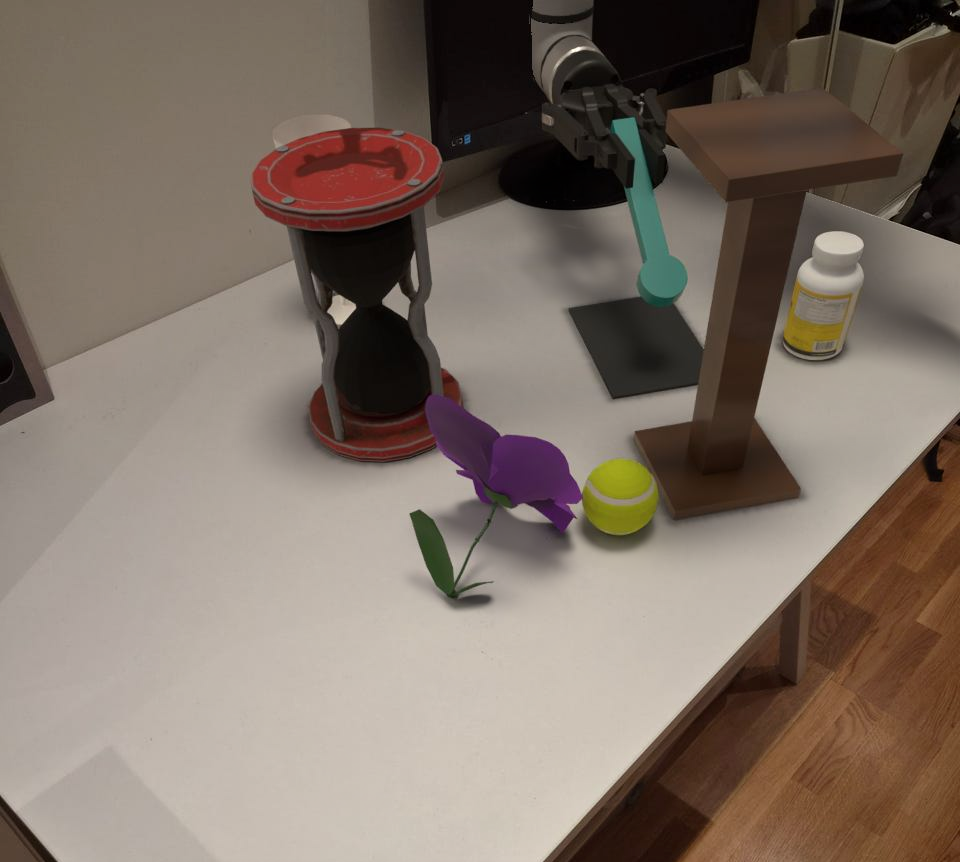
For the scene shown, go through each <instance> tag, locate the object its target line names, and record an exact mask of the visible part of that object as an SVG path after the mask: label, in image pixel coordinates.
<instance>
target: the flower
mask: <svg viewBox="0 0 960 862" xmlns="http://www.w3.org/2000/svg"><path fill="white" fill-rule="evenodd" d="M425 411H426V416H427V420H428V424H429V427H430V431H431V432H432V434H433V435H434V437H435V439H436V447H437V448H438V449H439V451H440V453H442V455H443V456H444V457H446V458H447V459H449V460H450V461H451V462H452V463H454V464H456V465H457V466H458V467H459V468H461V469H455V472H456V475H459V476H461V477H463V478H466V479H469V480H472V483H473V488H474V492H475V495H476V496H477V497H478V499H479V500H480V502H481V503H488V504H493V507H492V509H491V510H490V511H491V512H490V513H489V516H488V518H487V520H486V521H487V522H486V524H485V526H484V527H483V528H482V530H481V532H480V533H479V534H478V535H477V537H475V538H474V542H473V543H472V544H471V546H470V548H469V550H468V552H467V555H466V557H465V560H464V561H463V564H462V567H461V569H460V570H459V571H460V572H459V573H458V575H457V577H456V579H455V574H454V566H453V563H452V560H451V557H450V554H449V551H448V548H447V545H446V542H445V539H444V537H443V535H442V534H441V532H440V530H439V528H438V525H437V523H436V522H435V520H434V519H433V518H431V517H430V516H429V515H428V514H427V513H425V512H424V511H423V510H421V509H420V508H419V509H417V510H414V511H412V512H409V517H410V519H411V523H412V526H413V530H414V533H415V538H416V541H417V543H418V546H419V549H420V553H421V555H422V557H423V561H424V564H425V567H426V569H427V570H428V573H429V574H430V576H431V578H432V580H433V583H434V585H435V586H436V587H437V588H438V590H440V591H442V592H443V593H444V594H445V595H446V596H447V597H448V598H451V599H455V598H457V597H458V596H459V594H461V593H464V592H467V591H470V590H471V589H474V588H476V587H479V586H482V585H486V584H493V583H494V582H495V580H492V581H480V582H475V583H471V584H469V585H467V586H464V587H462V588H460V589H459V590H457V591H456V587H457V585H458V583H459V582H460V579H461V578H462V575H463V573H464V571H465V569H466V567H467V564H468V562H469V560H470V557H471V555H472V553H473V551H474V548H475V547H476V545H477V544H478V542H480V540H481V539H482V536H483V535H484V534H485V532H486V531H487V529H488V528H489V526H490V525H491V523H492V520H493V517H494V514H495V511H496V509H497V506H500V507H503V508H507V509H510V510H513V509H516V508H517V507H518V506H520V505H523V504H525V505H527V506H529V507H531V508H533V509H535V510H536V511H537V512H538V513H540V514H541V515H542V516H544V517H545V518H546V519H548V520H549V521H550V522H551V523H553V525H554V526H555V527H556V528H557V530H558V531H560V532H561V533H562V534H564V532H565V531H566V530H567V529H568V526H569V525H570V524H571V522H572V521H573V519H576V520H578V517H577V516H576V514H574V512H573V511H572V510H571V506H569V505H577V504H579V503H580V502H582V499H583V496H582V492H581V489H580V486H579V485H578V482H577V481H576V479H575V478H574V476H572V474H571V471H570V465H569V462H568V460H567V458H566V455H565V454H564V453H563V451H562V450H561V449H560V448H559V447H558V446H556V445H555V444H553V443H551V441H547V440H545V439H543V438H539V437H536V436H528V435H522V434H521V435H520V434H504V435H501V433H500V432H499V431H498V430H496V429H495V428H494V427H493V426H492V425H491V424H489V423H487V422H485V421H484V420H482V419H480V418H478V417H477V416H475V415H473V414H472V413H471V412H469V411H468V410H466V409H465V408H464V407H463V408H462V407H461V406H460V405H458V404H457V403H456V402H454V401H453V400H452V399H450V398H447V397H444V396H441V395H437V394H434V395H430V396H429V397H428V399H427V401H426V408H425Z"/></svg>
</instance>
